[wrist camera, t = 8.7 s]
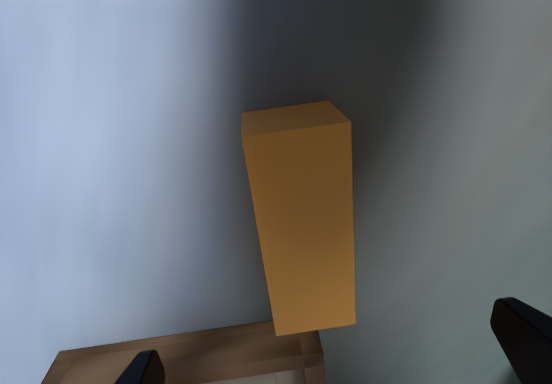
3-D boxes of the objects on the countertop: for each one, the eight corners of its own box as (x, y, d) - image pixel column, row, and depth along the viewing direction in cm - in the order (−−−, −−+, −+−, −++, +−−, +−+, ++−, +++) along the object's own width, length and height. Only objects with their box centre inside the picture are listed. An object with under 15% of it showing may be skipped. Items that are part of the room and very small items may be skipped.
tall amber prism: (242, 110, 14) (241, 137, 11) (327, 99, 14) (351, 121, 11) (270, 281, 18) (276, 336, 15) (336, 271, 18) (355, 324, 15)
